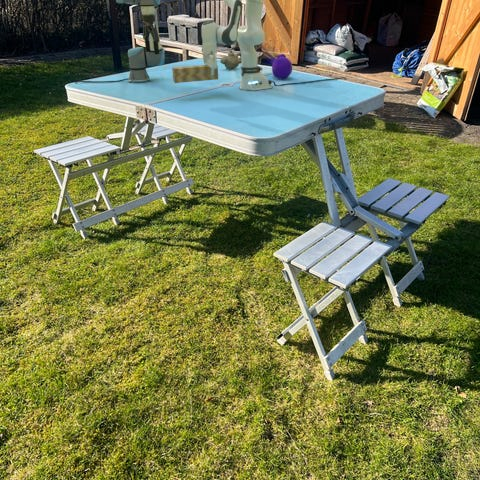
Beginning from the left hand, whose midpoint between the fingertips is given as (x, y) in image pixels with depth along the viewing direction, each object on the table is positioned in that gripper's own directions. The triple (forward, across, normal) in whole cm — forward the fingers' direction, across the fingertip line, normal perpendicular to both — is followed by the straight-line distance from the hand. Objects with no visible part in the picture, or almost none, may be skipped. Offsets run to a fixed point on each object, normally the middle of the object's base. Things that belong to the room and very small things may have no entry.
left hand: (152, 53), depth 276 cm
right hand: (+13, -18, -30) cm, 38 cm away
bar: (+16, -16, -20) cm, 31 cm away
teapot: (+27, +59, -93) cm, 113 cm away
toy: (+27, +7, -102) cm, 105 cm away
